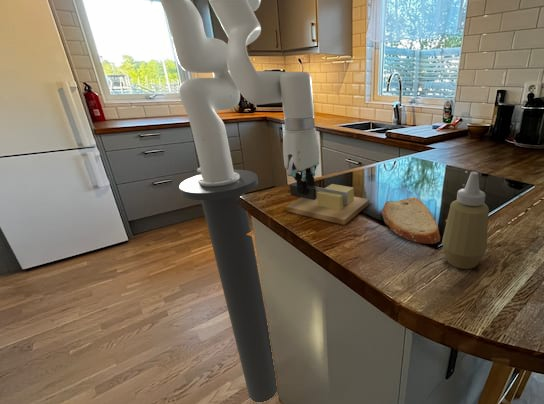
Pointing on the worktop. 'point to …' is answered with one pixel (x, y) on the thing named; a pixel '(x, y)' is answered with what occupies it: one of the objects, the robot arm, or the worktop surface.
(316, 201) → the cutting board
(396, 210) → the slice of bread
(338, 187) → the butter block
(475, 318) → the worktop surface
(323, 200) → the butter slice
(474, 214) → the squeeze bottle
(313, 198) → the knife
